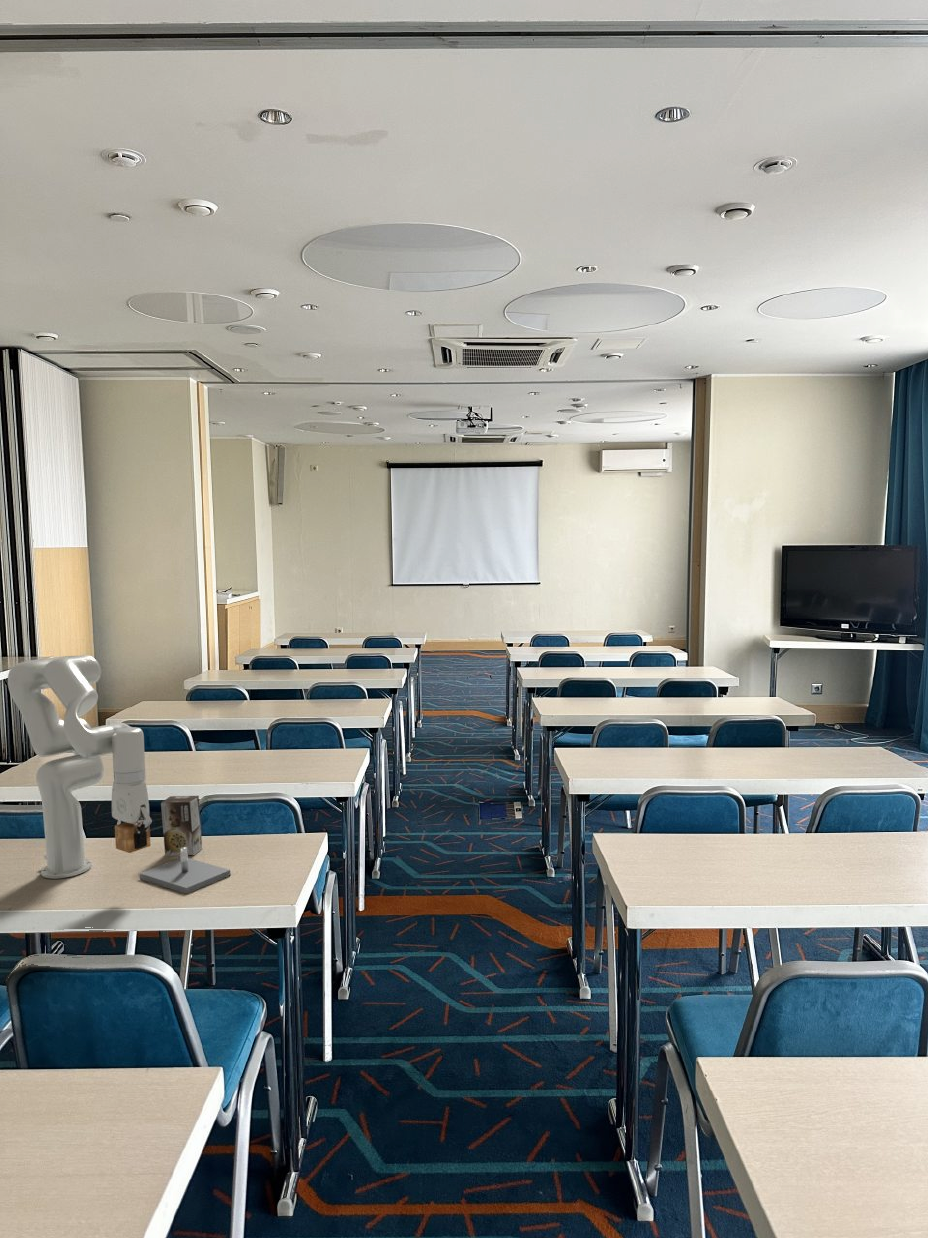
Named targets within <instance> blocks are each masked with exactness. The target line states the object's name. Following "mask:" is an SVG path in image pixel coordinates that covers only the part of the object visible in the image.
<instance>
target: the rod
mask: <svg viewBox="0 0 928 1238" xmlns="http://www.w3.org/2000/svg"><path fill="white" fill-rule="evenodd" d="M180 855H181V856H180V858H181V871H182V873H186V872H188V871H189V869H188V858H189V856H188V854H187V847H182V848H180Z"/></svg>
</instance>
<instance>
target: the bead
mask: <svg viewBox="0 0 928 1238" xmlns="http://www.w3.org/2000/svg"><path fill="white" fill-rule="evenodd" d="M139 820H140V819H139ZM139 820H138V821H139ZM141 824H142V823H141V822H140V823H138V826H139V827H140V825H141ZM150 827H151V824H150V825H149V827H148V831H146V833H147V846H145V847H142V848H139V849H135V843H134V834H135V833H136V832H135V828H134V824H129V823H126V822H125V823H122V824H119V825H117V824H115V825H114V838H115V839H114V840H115V849H117V850H118V851H122V852H125V853H128V854H131V853H135V852H136V851H140V850H143V849H146V848H149V847H151V828H150Z"/></svg>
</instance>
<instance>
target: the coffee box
mask: <svg viewBox="0 0 928 1238" xmlns="http://www.w3.org/2000/svg"><path fill="white" fill-rule="evenodd" d="M160 807H161V818H162V819H161V820H162V830H163V831H162V832H163V834H162V835H163V845H164V846H163V847H164V856H165V857H175V856H176V857H177V856H179V857H181V855H180V848H182V847H187V854H188V855H194V856H195V855H197V854H198V853H199V852H200V851H201V850H203V839H202V827H201V811H200V797H199V795H172V796H171V795H170V796H168V797H167V798H166V799H164V800H163V801H161V803H160Z"/></svg>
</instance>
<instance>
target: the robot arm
mask: <svg viewBox="0 0 928 1238" xmlns="http://www.w3.org/2000/svg"><path fill="white" fill-rule="evenodd" d="M7 674H8V675H7V687H8V691H9V695H10V697H11V698H12V700H13V702H14V704H15V705H16V707H17V708H18V710H19V711H20V713H21V716H22V719H23V723H24V725H25V728H26V731H27V734H28V737H29V740H30V744H31V746H32V749H33V751H34V753H35V755H37V756H38V757H41V758H47V757H48V758H49V757H53V756H59V755H62V754H66V753H67V754H69V753H71V752H72V753H73V755H70V756H64V757H61V758H56V759H52V760H49V761H47V762H45V763H43V764H41V765H40V767H38V769H37V772H36V775H35V776H36V785H37V787H38V791H39V794H40V799H41V804H42V805H41V806H42V816H43V827H44V840H45V843H44V844H45V855H44V856H43V858H44V859H45V860H46V866H44V867H43V868H42V869H41V871H40V872H41V873H40V874H41V876H42V877H43V878H45V879H52V880H53V879H55V880H56V879H66V878H70V877H75V876H77V875H80V874H83V873H85V872H87V871H88V870H90V868H92V861H91V860H90V859H87V858H86V857H85V843H84V842H85V841H84V829H83V827H84V826H83V816H82V815H83V814H82V806H81V804H80V802H79V800H78V799H77V798H76V797H75V796H74V795H73V794H72V792H74V791H77V790H79V789H80V790H81V789H83V788H87V787H91V786H94V785H96V784H98V783H100V782H101V781H102V780H103V777H104V775H105V769H104V768H105V767H104V764H103V760H102V757H103V756H105V755H106V756H107V755H111V754H112V762H113V763H112V767H113V784H112V788H111V817H112V818H113V819H115V821H116V825H119V824H122V823H125V822H126V823H129V824H134V828H135V832H136V833H135V834H134V843H135V849H139V848H142V847H145V846H147V833H146V831H148V827H149V825H150V826H151V824H152V822H153V820H152V818H151V817H150V803H149V793H148V787H147V784H146V781H147V780H146V776H147V775H146V774H147V773H146V759H145V758H146V756H145V754H146V753H145V736H144V732H143V730H142V728H140V727H135V726H134V727H133V726H130V725H128V724H127V723H124V722H115V723H111V724H105V725H100V726H95V727H91V725H90V724H89V722H87V721H86V719H84V718H82V716H84V715H86V714H87V713H88V712H89V711H91V710H92V709H93V708H94V707H95V705H96V704H97V702H98V699H99V694H98V692H97V691H96V689H95V688H94V687H93V685H94V684H96V683H98V681H99V680H100V678H101V675H102V669H101V666H100V663H99V661H98V660H97V659H95V657H93V656H92V655H89V654H82V655H65V656H64V655H63V656H56V657H54V656H53V657H47V658H40V659H38V658H37V659H32V660H27V661H22V662H19V663H16V664H15V665H14V666H12V667H11V668H10V670H9V671H8V673H7ZM46 689H51V690H52V692H53V694H55V696H56V698H57V699H58V700H59V701H60V702H61V704H62V705H63V707H64V708H65V709H66V711H65V714H64V717H63V719H62V718H60V716H59V714H58V712H57V709H56V705H55V704H54V703H53V701H52V700H51V699H50V698H48V697H47V696H46V695H45V694H44V693H41V692H40V690H41V691H42V690H46ZM138 820H139V821H138ZM140 822H141V823H142V824H141V825H140V827H139V826H138V823H140Z"/></svg>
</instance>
